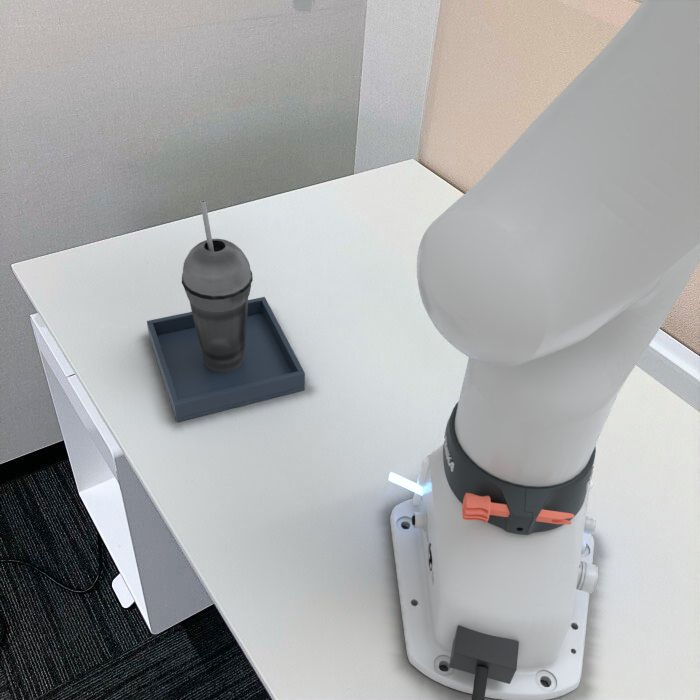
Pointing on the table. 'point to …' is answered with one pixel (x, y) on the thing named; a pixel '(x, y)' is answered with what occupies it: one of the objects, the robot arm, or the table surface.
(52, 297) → the table surface
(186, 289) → the beverage cup
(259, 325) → the tray
